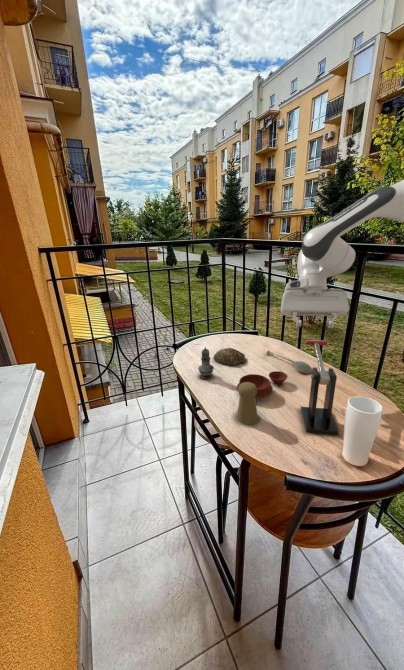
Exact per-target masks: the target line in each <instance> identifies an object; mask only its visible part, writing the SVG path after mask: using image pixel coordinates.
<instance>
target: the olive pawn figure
mask: <svg viewBox="0 0 404 670" xmlns="http://www.w3.org/2000/svg"><path fill="white" fill-rule="evenodd" d="M237 392H238V394H239V399H238V406H237V412H236V420H237V421H238V422H239V423H240V424H244V425H252V424H255V423H257V421H258V410H257V403H256V398H255V395H256V394H257V387H256V386H255V384H253V383H250V382H244V383H241V384H240V386H239V388H238V390H237Z"/></svg>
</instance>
